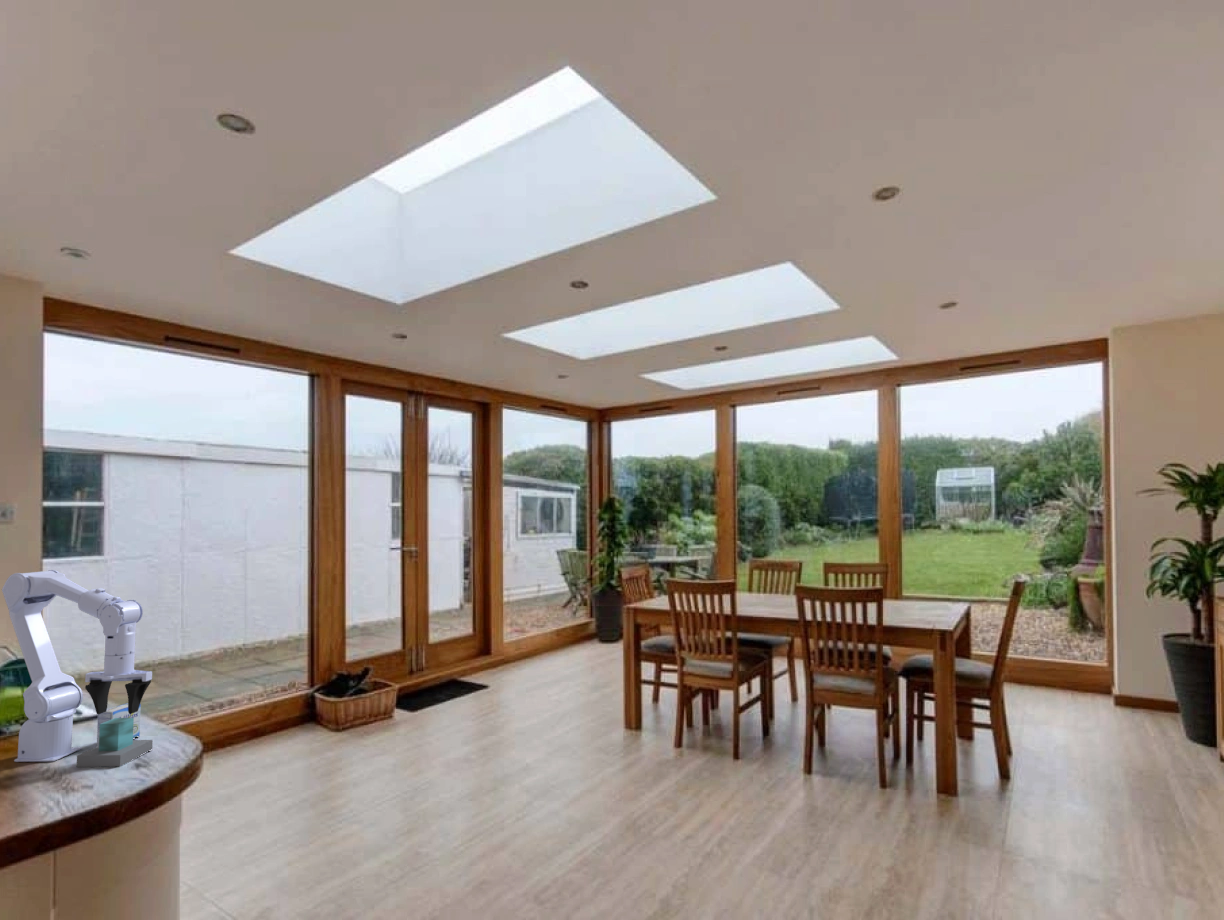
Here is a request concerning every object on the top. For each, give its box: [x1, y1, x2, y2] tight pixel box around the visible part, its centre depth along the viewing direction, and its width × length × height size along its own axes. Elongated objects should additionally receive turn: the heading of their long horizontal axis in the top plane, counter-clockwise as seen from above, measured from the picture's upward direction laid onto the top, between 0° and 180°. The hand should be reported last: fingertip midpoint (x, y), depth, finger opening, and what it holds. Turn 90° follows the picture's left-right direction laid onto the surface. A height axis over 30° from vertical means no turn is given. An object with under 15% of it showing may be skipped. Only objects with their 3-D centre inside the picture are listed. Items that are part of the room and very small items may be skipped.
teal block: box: [99, 718, 134, 751], centre depth 153 cm, size 4×4×6 cm
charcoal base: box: [76, 739, 153, 768], centre depth 153 cm, size 10×10×2 cm
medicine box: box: [96, 702, 142, 747], centre depth 164 cm, size 8×4×9 cm, turn 168°
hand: (117, 712), depth 153 cm, fingers open, 7 cm apart
